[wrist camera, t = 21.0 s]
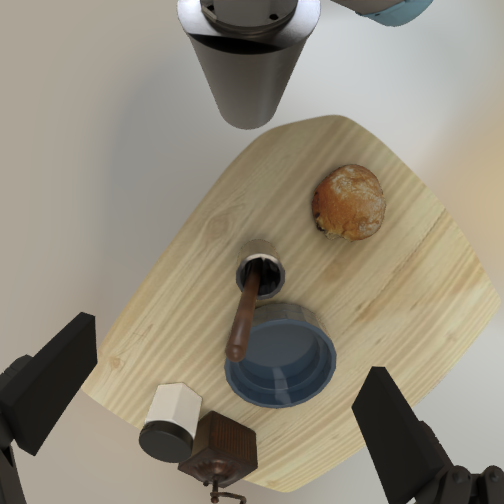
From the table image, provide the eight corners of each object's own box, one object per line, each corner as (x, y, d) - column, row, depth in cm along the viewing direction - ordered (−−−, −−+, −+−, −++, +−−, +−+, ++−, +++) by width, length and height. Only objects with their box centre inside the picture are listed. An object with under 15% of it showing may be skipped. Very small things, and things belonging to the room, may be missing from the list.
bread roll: (368, 221, 43) (408, 218, 36) (323, 256, 40) (364, 258, 33) (341, 162, 41) (380, 149, 34) (291, 191, 38) (329, 179, 30)
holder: (242, 235, 40) (241, 248, 32) (282, 243, 40) (290, 259, 33) (234, 273, 41) (231, 294, 33) (273, 281, 42) (278, 303, 34)
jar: (159, 374, 45) (140, 422, 34) (206, 388, 46) (196, 440, 34) (153, 408, 47) (136, 454, 35) (195, 421, 48) (186, 469, 36)
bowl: (238, 291, 42) (236, 309, 36) (339, 310, 43) (351, 328, 37) (219, 376, 45) (216, 400, 39) (309, 389, 46) (315, 412, 40)
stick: (253, 254, 40) (225, 348, 21) (265, 256, 40) (246, 353, 21) (250, 264, 40) (222, 363, 22) (262, 267, 40) (242, 368, 22)
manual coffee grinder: (180, 435, 49) (165, 508, 31) (211, 408, 47) (201, 489, 30) (243, 464, 51) (243, 532, 34) (277, 440, 50) (286, 514, 32)
